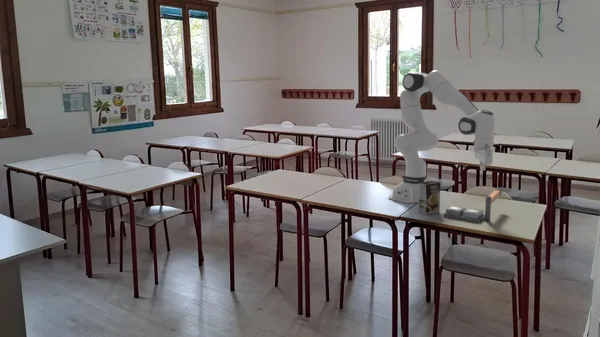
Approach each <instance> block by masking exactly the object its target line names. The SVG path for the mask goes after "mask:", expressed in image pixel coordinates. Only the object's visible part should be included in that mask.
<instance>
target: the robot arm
mask: <svg viewBox="0 0 600 337" xmlns="http://www.w3.org/2000/svg"><path fill="white" fill-rule="evenodd" d="M401 82H402V87H403V89H404V90H402V91H401V93H400V96H399V98H400V99H399V101H400V111H401V118H402V122H403V124H404V125H405V126H406V127H408V128H409V129H411V131H412V132H405V133H401V134H398V135H397V136H396V137H395V140H394V147H395V149H396V151H398V152H399V153H400V154H401V155H402V156H403V158H404V160H405V161H404V162H405V175H403V176H402V177H401V180H402V182H400V183H399V184H397V185H395V186H394V187H393V190H392V194H390V195H388V200H393V201H396V202H402V203H405V204H416V203H417V204H419V187H420V183H421V182H428V180H427V179H428V177H427V163H426V161H425V160H424V159H422V158H421V157H420V155H419V152H425V151H430V150H433V149H435V148H436V147H437V146H438V143H439V137H438V136H437V134H436V133H435V132H434V131H433V130H432V129H430V128H429V127H428V125H427V123H426V122H425V119H424V115H423V111H422V107H421V106H422V104H421V96H422V97H425V96H426V95H427V94H429V93H431V94H432V95H433V97H434V98H435V99H436V100H437V101H438V103H441V104H443V105H447V106H451V107H452V106H453V107H455V108H457V109H460V110H461V111H462V112H463V113H464V115H465V116H463V117H461V118H460V119H459V121H458V124H457V125H458V130H459V132H460V133H461V134H463V136H464V135H465V136H470V135H471V136H472V135H474V140H473V145H474V149H473V150H474V151H473V153H474V158H475V159H477V160H478V161H479V169H480V171H482V172H483V171H486V167H487V166H491V165H492V164H493V150H492V149H491V148H493V147H494V140H495V136H494V131H495V116H494V115H495V114H494V113H493V112H492V111H490V110H487V109H486V110H485V109H479V108H477V106H475V104H474V103H473V102H472V101H471V100H470V99H469V98H468V97H467V96H465V95H464V94H463V92H461V91H459V90H458V88H456V87H455V85H454V84H453V83H452V81H451V80H450V79H449V78H448V77H447V76H446V75H445V74H444V73H442V72H441V70H437V69H436V70H432V71H430V72H429V73H425V72H414V71H412V72H408V73H406V74H404V75H403V78H402V81H401Z"/></svg>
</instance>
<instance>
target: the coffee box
mask: <svg viewBox="0 0 600 337" xmlns="http://www.w3.org/2000/svg"><path fill="white" fill-rule="evenodd" d="M440 210H441V182H440V181H435V180H427V182H421V183H420V187H419V203H418V213H420V214H422V215H425V216H428V215H433V214H439V213H440Z"/></svg>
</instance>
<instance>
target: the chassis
mask: <svg viewBox="0 0 600 337" xmlns="http://www.w3.org/2000/svg"><path fill="white" fill-rule="evenodd" d="M466 208H467V207H466V206H459V205H453V204H452V205H451V206H448V207H447V208H446V209H445V212H444V213H443V215H442V216H444V218H449V217H450V219H455V218H456V220H461V219H462V221H467V222H473V223H480V222H481V221H483V220H485V212H484V211H485V210H484V209H478V208H472V207H469V208H467V209H466Z"/></svg>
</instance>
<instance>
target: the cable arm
mask: <svg viewBox="0 0 600 337" xmlns="http://www.w3.org/2000/svg"><path fill="white" fill-rule="evenodd" d="M500 196H502V188H494V190H493V191H492V192H491V193H490V194H489V195H488V196H486V197H485V208H484V209H485V210H484V211H485V212H484V214H485V218H484V221H487V222H490V221H491V211H492V208H491V207H492V204H493V203H494V202H495V201H496V200H497V199H498V198H499V197H500Z"/></svg>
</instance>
